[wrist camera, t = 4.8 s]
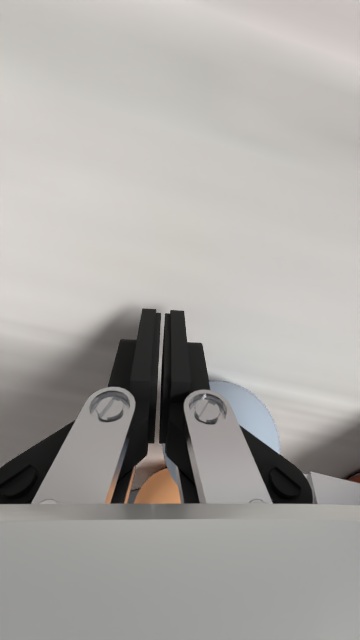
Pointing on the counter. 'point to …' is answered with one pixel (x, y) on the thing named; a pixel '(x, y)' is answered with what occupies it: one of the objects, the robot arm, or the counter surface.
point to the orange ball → (159, 490)
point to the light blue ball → (242, 417)
